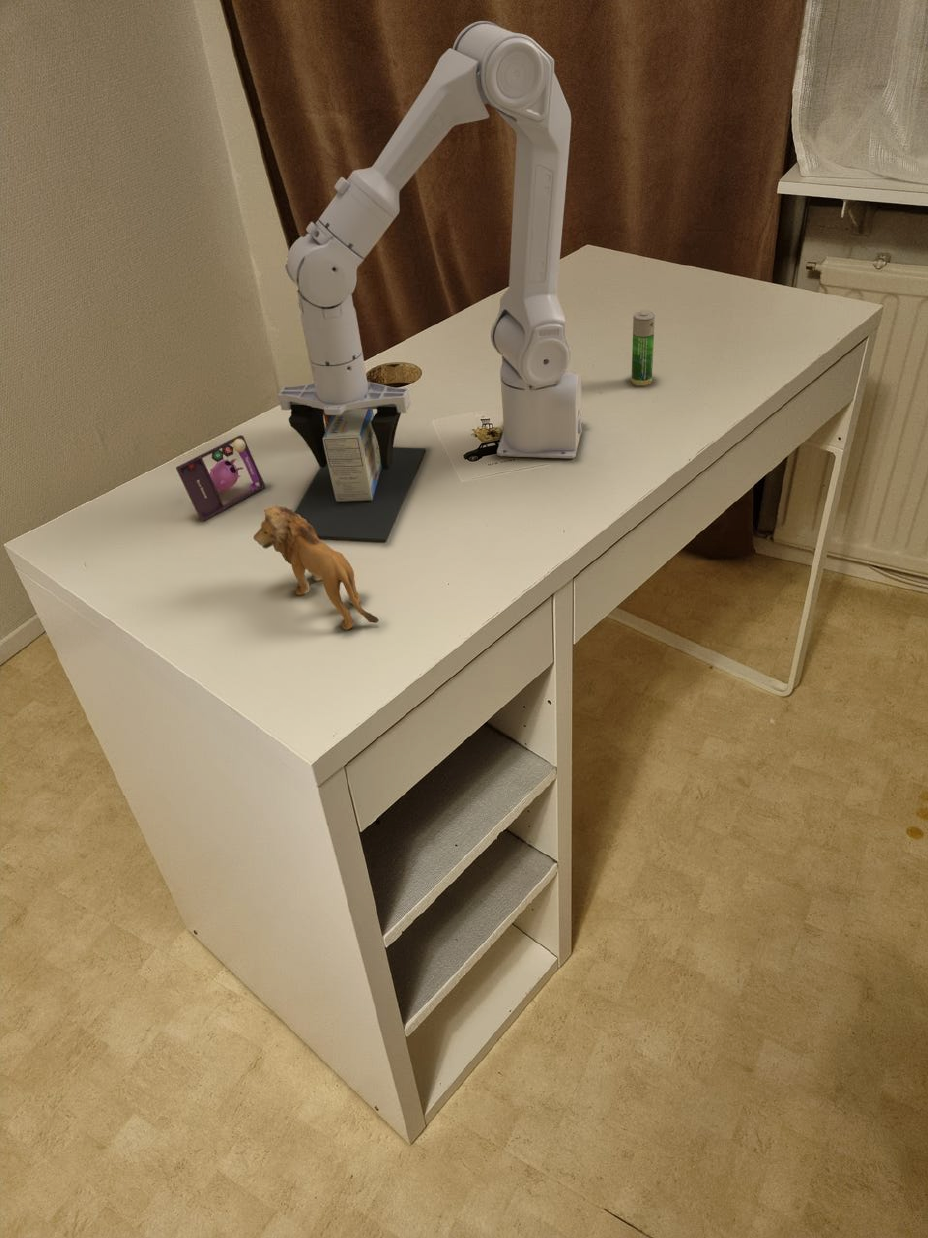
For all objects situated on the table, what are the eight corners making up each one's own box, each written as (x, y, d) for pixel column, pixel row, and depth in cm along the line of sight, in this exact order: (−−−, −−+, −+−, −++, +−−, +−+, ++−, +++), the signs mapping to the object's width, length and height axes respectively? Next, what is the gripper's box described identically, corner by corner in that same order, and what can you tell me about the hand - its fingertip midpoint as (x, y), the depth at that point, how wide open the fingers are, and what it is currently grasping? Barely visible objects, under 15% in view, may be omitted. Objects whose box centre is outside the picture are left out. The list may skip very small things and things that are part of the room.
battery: (651, 386, 124) (655, 317, 118) (631, 386, 125) (633, 317, 119) (651, 377, 126) (655, 308, 120) (631, 377, 127) (633, 308, 121)
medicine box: (373, 502, 108) (361, 435, 103) (335, 503, 109) (321, 437, 103) (383, 465, 114) (372, 400, 109) (347, 466, 115) (334, 401, 109)
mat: (426, 450, 117) (425, 447, 117) (385, 542, 103) (385, 539, 103) (333, 447, 119) (333, 445, 119) (282, 536, 105) (281, 533, 105)
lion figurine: (261, 586, 99) (240, 515, 93) (299, 560, 102) (281, 490, 96) (361, 640, 91) (345, 566, 85) (398, 610, 94) (385, 537, 88)
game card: (179, 467, 106) (245, 434, 110) (160, 466, 110) (225, 434, 114) (205, 521, 108) (268, 487, 113) (186, 518, 112) (248, 485, 117)
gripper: (258, 370, 100) (285, 480, 108) (391, 372, 97) (407, 485, 105) (281, 340, 105) (305, 448, 114) (408, 341, 102) (422, 451, 111)
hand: (356, 463), depth 110 cm, fingers open, 7 cm apart
